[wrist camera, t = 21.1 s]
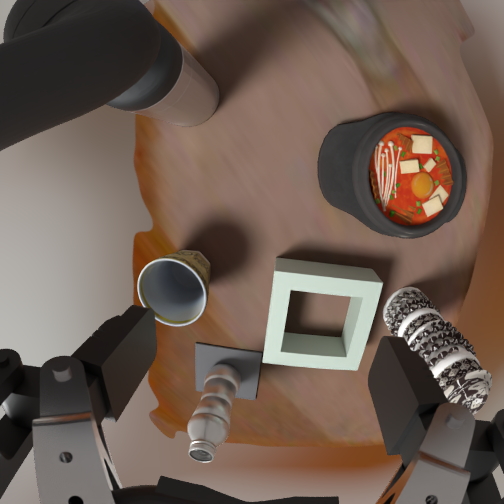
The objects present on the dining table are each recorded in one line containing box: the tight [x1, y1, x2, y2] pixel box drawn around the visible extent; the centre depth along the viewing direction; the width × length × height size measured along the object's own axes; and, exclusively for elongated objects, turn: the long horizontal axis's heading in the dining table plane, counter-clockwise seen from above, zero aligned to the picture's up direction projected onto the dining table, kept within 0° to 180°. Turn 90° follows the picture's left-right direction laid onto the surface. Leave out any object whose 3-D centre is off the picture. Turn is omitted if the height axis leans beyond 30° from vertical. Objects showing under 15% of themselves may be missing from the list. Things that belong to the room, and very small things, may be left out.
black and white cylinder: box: [383, 287, 492, 415], centre depth 35 cm, size 9×9×25 cm
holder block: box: [262, 257, 383, 370], centre depth 46 cm, size 16×16×6 cm
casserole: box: [318, 112, 466, 238], centre depth 37 cm, size 25×19×8 cm
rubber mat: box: [195, 342, 262, 400], centre depth 54 cm, size 12×12×1 cm
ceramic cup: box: [138, 250, 210, 326], centre depth 44 cm, size 13×10×10 cm
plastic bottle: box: [188, 364, 241, 462], centre depth 44 cm, size 6×7×20 cm
